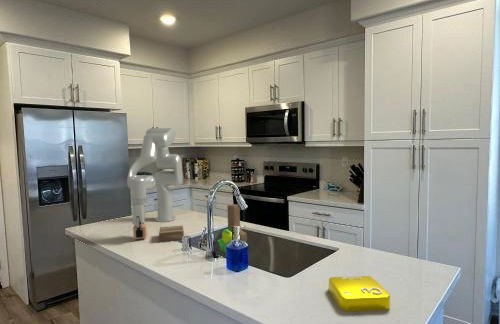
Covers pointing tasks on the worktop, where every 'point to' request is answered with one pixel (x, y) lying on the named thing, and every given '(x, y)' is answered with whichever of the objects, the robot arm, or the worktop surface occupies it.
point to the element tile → (358, 293)
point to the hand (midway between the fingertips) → (140, 235)
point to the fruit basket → (225, 239)
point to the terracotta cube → (144, 227)
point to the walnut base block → (171, 233)
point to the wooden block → (235, 220)
